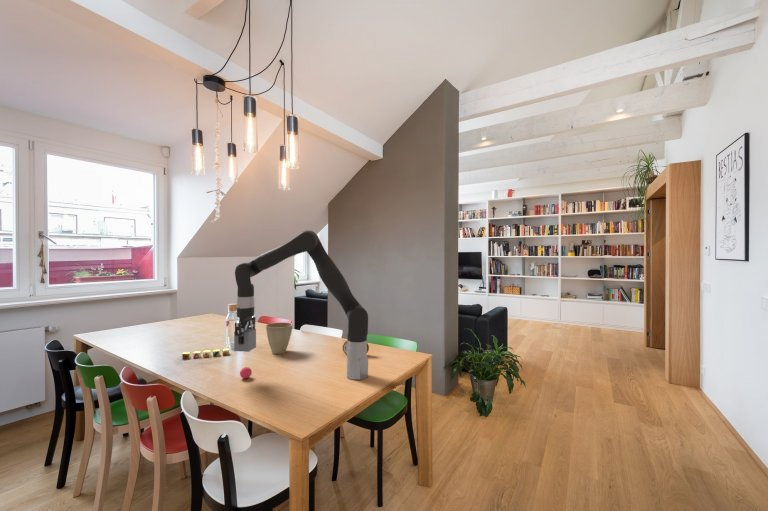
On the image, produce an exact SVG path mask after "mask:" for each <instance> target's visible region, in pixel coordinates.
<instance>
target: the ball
mask: <svg viewBox="0 0 768 511" xmlns="http://www.w3.org/2000/svg"><path fill="white" fill-rule="evenodd" d="M252 374H253V373H252V369H251V368H250V367H247V366H244V367H242V368H241V369H240V371H239V375H240V377H241V378H242V379H245V380H246V379H249V378H250V377H251V375H252Z"/></svg>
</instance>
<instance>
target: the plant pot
mask: <svg viewBox="0 0 768 511" xmlns="http://www.w3.org/2000/svg"><path fill="white" fill-rule="evenodd" d="M265 331H266V337H267V341H268V344H269V347H270V350H271V353H272V354H273V355H281V354H284V353H286V351H287V348H288V345H289V342H290V340H291V336H292V332H293V323H291V322H272V323H271V322H270V323H267V324H265Z"/></svg>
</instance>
